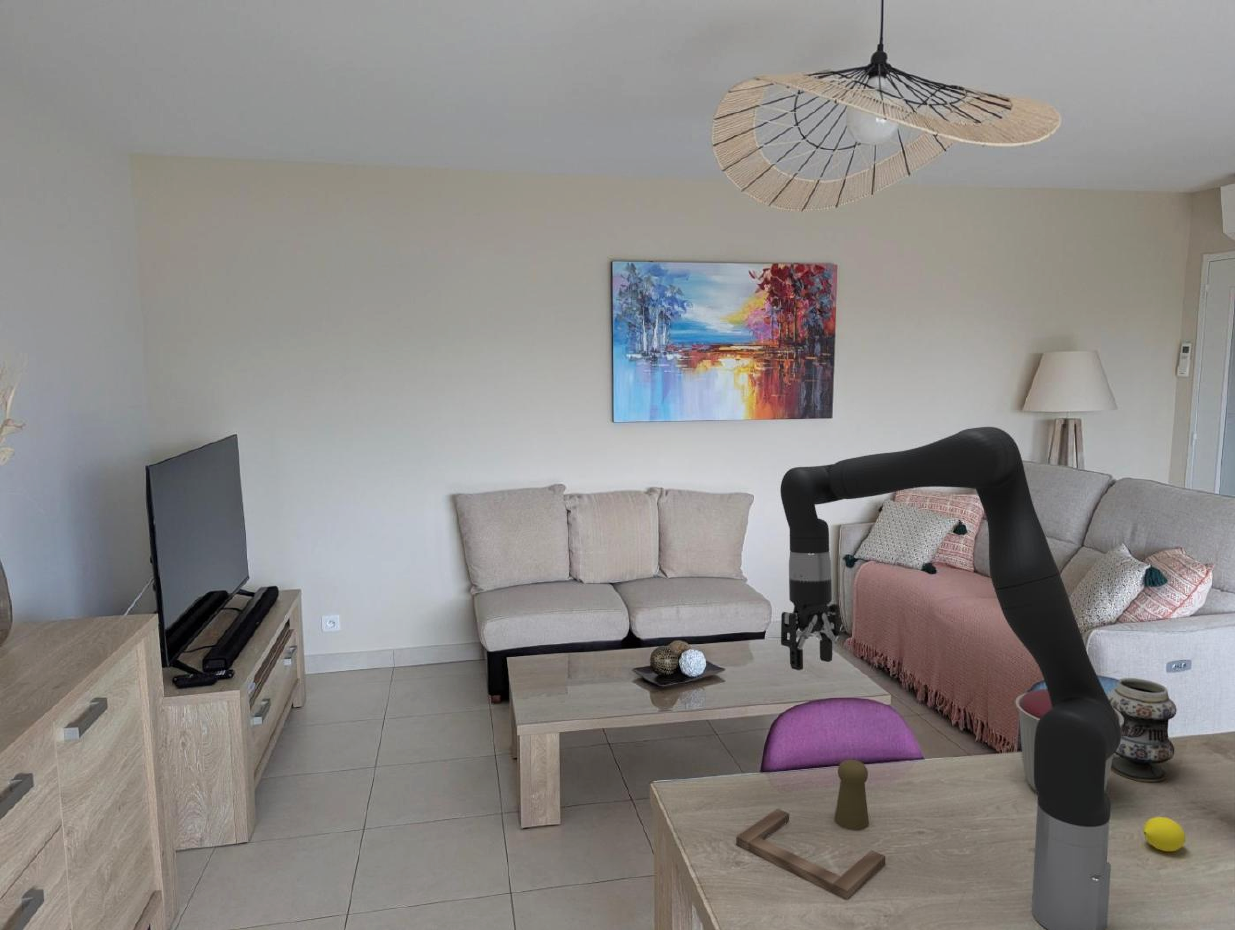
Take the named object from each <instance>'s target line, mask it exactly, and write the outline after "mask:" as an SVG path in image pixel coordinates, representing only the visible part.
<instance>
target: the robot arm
mask: <svg viewBox="0 0 1235 930" xmlns="http://www.w3.org/2000/svg"><path fill="white" fill-rule="evenodd" d="M931 487H933V488H935V487H936V488H939V487H940V488H942V487H943V488H961V489H962V488H965V489H972V490H973V489H975V491H976V493H977V495H978V497H979V500H980V503H981V505H982V506H981V507H982V508H983V510H984V514H985V518H986V522H987V528H988V567H989V574H990V580H991V583H992V587H993V589H994V593H995V595H996V597H997V602H998V603H999V607H1000V608H1001V612H1002V614H1003V616H1004V619H1005V621H1006V622H1007V624H1008V626H1009V627H1010V628H1011V631H1012V632H1013V633H1014V635H1015V636H1016V638H1017V639H1018V640H1019V642H1021V644H1022V645H1023V646H1024V647H1025V648H1026V649H1027V651H1028V652H1029V654H1030V655H1031V656H1032V658H1033V660H1035V662H1036V664H1037V666H1038V668H1039V670H1040V672H1041V675H1042V678H1043V681H1044V683H1045V687H1046V689H1047V690H1048V693H1049V697H1050V701H1051V705H1052V709H1050V710H1049V711H1048V712H1046V713H1045V714H1044V715H1043V716H1042V717H1041V718H1040V720H1039V721H1038V724H1037V727H1036V732H1035V741H1034V784H1035V787H1036V790H1037V791H1036V790H1035V791H1036V792H1037V801H1036V802H1037V804H1036V805H1037V807H1036V823H1035V837H1034V838H1035V840H1034V841H1035V843H1034V855H1033V857H1034V860H1033V873H1032V874H1033V876H1032V878H1033V879H1032V894H1031V913H1032V916H1033V918H1034V919H1035V920H1036V921H1037V923H1039V924H1040V925H1041V926H1042V927H1044V928H1045V929H1047V930H1105V929H1106V926H1107V925H1108V914H1109V913H1108V911H1109V901H1110V900H1109V899H1110V897H1109V896H1110V885H1111V871H1112V867H1111V866H1112V865H1111V863H1110V862H1108V853H1109V836H1110V833H1109V832H1110V823H1111V822H1110V820H1111V810H1112V808H1111V807H1112V803H1111V800H1110V797H1109V796H1108V794H1107V793H1106V791H1105V792H1104V786H1105V766H1106V761H1107V760H1108V759H1109V758H1110V757H1111V756H1112V755H1113V754H1114V755H1115V753H1114V752H1115V751H1116V750H1117V749H1118V747H1119V744H1120V741H1121V728H1120V724H1119V721H1118V718H1117V716H1116V714H1115V711H1114V709H1113V707H1112V705H1111V703H1110V701H1109V699H1108V697H1107V695H1108V694H1106V692H1105V689H1104V687H1103V685H1102V682H1101V681H1100V679H1099V677H1098V675H1097V673H1096V671H1095V668H1094V666H1093V665H1092V662H1091V659H1090V656H1089V654H1088V652H1087V648H1086V645H1085V642H1084V638H1083V636H1082V633H1081V630H1080V628H1079V624H1078V622H1077V620H1076V616H1075V614H1074V611H1073V608H1072V604H1071V601H1070V598H1069V596H1068V593H1067V590H1066V587H1065V584H1064V581H1063V579H1062V576H1061V573H1060V571H1059V568H1058V565H1057V564H1056V561H1055V558H1054V556H1053V552H1052V550H1051V549H1050V548H1051V547H1050V545H1049V543H1048V540H1047V538H1046V534H1045V532H1044V529H1043V527H1042V524H1041V521H1040V519H1039V516H1038V514H1037V513H1036V509H1035V506H1034V502H1033V500H1032V495H1031V493H1030V488H1029V483H1028V481H1027V476H1026V471H1025V467H1024V463H1023V459H1022V456H1021V452H1020V449H1019V447H1018V444H1017V443H1016V441H1015V439H1014V438H1013V437H1012V436H1011V435H1010V434H1009V433H1008V432H1007V431H1005V430H1004V429H1003V430H1002V428H999V427H994V426H980V427H979V426H978V427H972V428H971V427H970V428H965V429H962V430H960V431H959V432H957V433H955V434H952V435H949V436H947V437H944V438H941V439H939V440H937V441H933V442H930V443H928V444H925V445H922V446H919V447H915V448H911V449H905V450H899V451H891V452H883V453H881V452H880V453H875V454H868V455H861V456H857V457H851V458H846V459H843V460H840V461H839V460H838V461H837V462H834V463H830V464H823V465H816V466H814V465H812V466H796V467H791V468H790V469H789V470H787V471H786V472H785V474H784V475H783V476H782V479H781V483H780V498H781V503H782V507H783V510H784V514H785V519H786V521H787V524H788V528H789V559H788V587H789V589H788V590H789V591H788V592H789V593H788V595H789V602H791V603H792V604H793V611H792V612H786V611H783V612H781V617H780V619H781V622H780V625H781V626H780V645H781V646H784V647H788V648H789V665H790V668H791V669H792V670H796V671H802V670H803V669H804V650H803V646H804V644H805V642H806V640H808V639H809V638H810V635H811V634H814V633H815V632H816V633H817V635H818V637H819V660H820V661H822V662H826V663H830V662H832V661H833V642H834V641H835V638H836V637H839V636H840V635H841V625H840V624H841V623H840V622H841V620H840V606H839V604H838V603H837V604H836V603H833V602H832V600H833V597H832V595H833V592H832V589H833V588H832V560H831V554H830V529H829V525H828V522H827V521H826V520H824V519H822V518H819V516H818V514H817V509H816V505H823V504H824V505H825V504H829V503H835V502H838V501H842V500H857V499H862V498H868V497H876V496H882V495H887V494H891V493H895V492H899V491H904V490H909V489H910V490H911V489H919V488H931ZM831 602H832V603H831ZM832 624H833V627H832ZM788 635H789V638H788ZM797 638H798V639H797ZM1114 755H1113V756H1114Z"/></svg>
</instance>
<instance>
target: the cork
mask: <svg viewBox="0 0 1235 930" xmlns="http://www.w3.org/2000/svg"><path fill="white" fill-rule="evenodd" d="M837 768H838V769H837V774H838V778H839V780H840V784H839V788H838V789H839V790H838V795H837V801H836V807H835V812H834V822H835V823H836V824H837V825H838V826H840V828H843V829H845V830H849V831H861V830H865V829H867V828H868V827H869V825H870V820H869V812H868V810H869V809H868V803H867V802H868V801H867V795H866V794H867V793H866V784H865V783H866V782H868V781H867V780H868V777H869V770H868V768H867V766H866V765H865V763H863V762H861V761H859V760H855V759H845V760H842V761H841V762H840V763H839V765H838V767H837Z"/></svg>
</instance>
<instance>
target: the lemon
mask: <svg viewBox="0 0 1235 930" xmlns="http://www.w3.org/2000/svg"><path fill="white" fill-rule="evenodd" d="M1143 836H1144V838H1145V840H1147V842H1148V843H1149V845H1151V846H1153V848H1155V849H1156V850H1159V851H1163V852H1167V853H1168V852H1176V851H1177V850H1180V849H1182V847H1183V846H1184V844H1185V843H1186V833H1185V832H1184V830H1183V828H1182V826H1181V825H1180V824H1179V823H1178V822H1177V821H1175V820H1173V819H1170V818H1169V817H1167V816H1166V817H1164V816H1155V817H1151V818H1149V819H1147V821H1146V822H1145V823H1144V826H1143Z"/></svg>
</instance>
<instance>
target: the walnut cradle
mask: <svg viewBox="0 0 1235 930" xmlns="http://www.w3.org/2000/svg"><path fill="white" fill-rule="evenodd" d="M788 821H789V822H790V813H788V812H786V811H784V810H782V809H780V808H776V809H774V810H773V811H771V812H770V813H769V814H767V815H765V816H764V817H763V818H761V819H760V820H758V821H757V822H755V823H754V824H752V825H751V826H750V827H748V828H746V829H745V830H744V831H742V832H741V833H739V834H738V835H736V836H735V838H736V839H735V840H736V843H735V845H736V846H738V847H740V848H742V849H744V850H746V851H749V852H750V853H752V854H754V855H756V856H758V857H760V858H762V859H764V860H766V861H768V862H771V863H772V864H774V865H776V866H779V867H781V868H782V869H784V870H786V871H788V872H790V873H793V874H794V875H796V876H799V877H800V878H803V879H804V880H807V881H809V882H810V883H812V884H814V885H817V886H818V887H821V888H823V889H824V890H826V891H828V892H831V893H833V894H834V895H836V896H838V897H840V898H842V899H844V900H848V899H850V898H851V897H852V896H853V895H854V894H855V893H856V892H857V891H858V890H859V889H860V888H862V887H863V886H864V885H865V884H866V883H867V882H868V881H869V880H870V879H871V878H873V876H875V875H876V874H877V873H878V872H879V871H880V870H881V869H882V868H883V867H884V866H885V865H886V855H884V854H882V853H879V852H877V851H875V850H873V849H870V851H869V852H867V853H866V854H865V855H863V856H862V858H860V859H859V860H858V861H857V862H856V863H854V864H853V865H852V866H851V867H850V868H849V869H848V870H846V871H845V872H844V873H843V874H842V875H841V876H840V875H838V874H836V873H834V872H832V871H830V870H828V869H826V868H824V867H822V866H819V865H818V864H816V863H813V862H812V861H809V860H807V859H806V858H803V857H801V856H799V855H796V854H794V853H793V852H790V851H789V850H786V849H784V848H783V847H780V846H778V845H776V844H774V843H771V842H770V841H768V840H765V839H766V837H767V836H768V835H769V836H771V835H772V834H773V833H772V832H773V831H775V832H777V831H778V830H779V829H780V827H781V826H782V825H783V824H785V823H786V824H788V823H789V822H788ZM787 822H788V823H787ZM786 824H785V825H786ZM783 826H784V825H783ZM783 826H782V827H783ZM782 827H781V828H782ZM777 829H778V830H777ZM771 833H772V834H771ZM770 834H771V835H770ZM769 836H768V837H769ZM768 837H767V838H768Z"/></svg>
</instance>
